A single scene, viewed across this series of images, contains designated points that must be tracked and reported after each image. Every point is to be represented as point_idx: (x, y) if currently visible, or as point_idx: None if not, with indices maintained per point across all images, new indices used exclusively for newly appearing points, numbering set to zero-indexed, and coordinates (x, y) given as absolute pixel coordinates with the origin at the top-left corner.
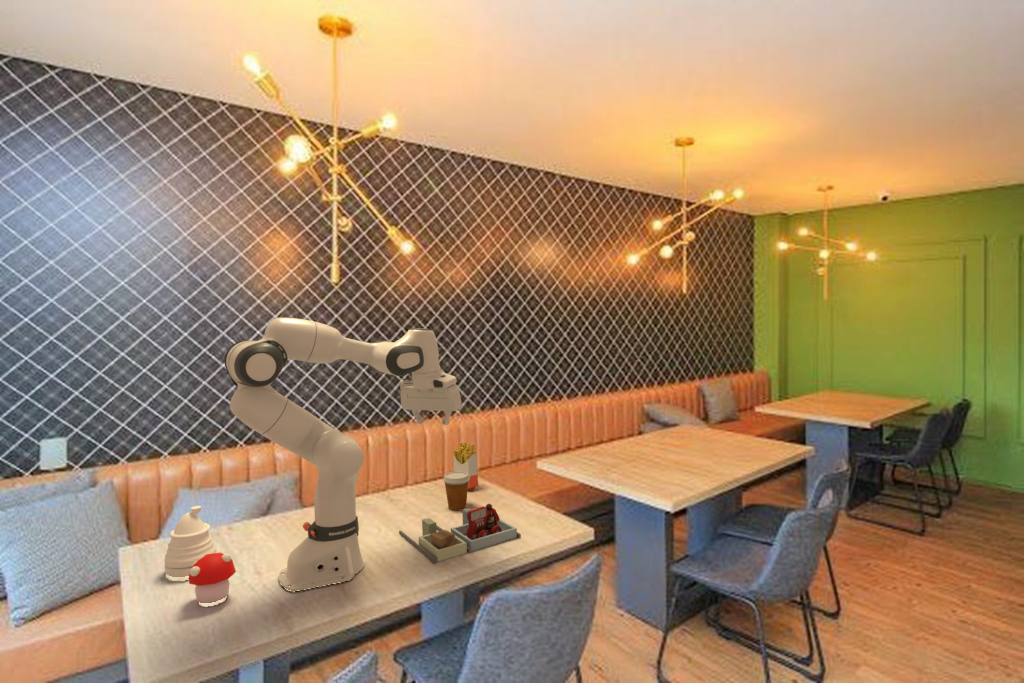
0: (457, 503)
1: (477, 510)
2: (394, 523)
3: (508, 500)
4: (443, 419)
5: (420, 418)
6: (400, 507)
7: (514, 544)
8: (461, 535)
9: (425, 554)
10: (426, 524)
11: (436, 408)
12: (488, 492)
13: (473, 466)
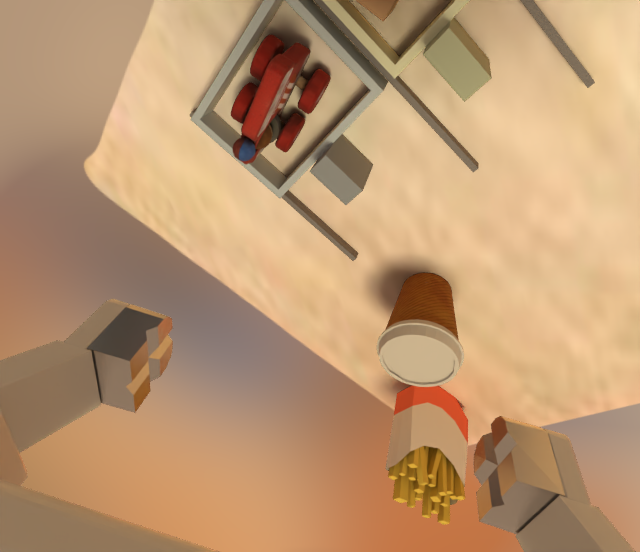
0: (417, 284)
1: (256, 93)
2: (624, 174)
3: (309, 325)
4: (102, 351)
5: (510, 484)
6: (614, 294)
7: (190, 62)
8: (327, 32)
9: None
10: (465, 45)
11: (3, 546)
12: (370, 367)
13: (399, 432)
